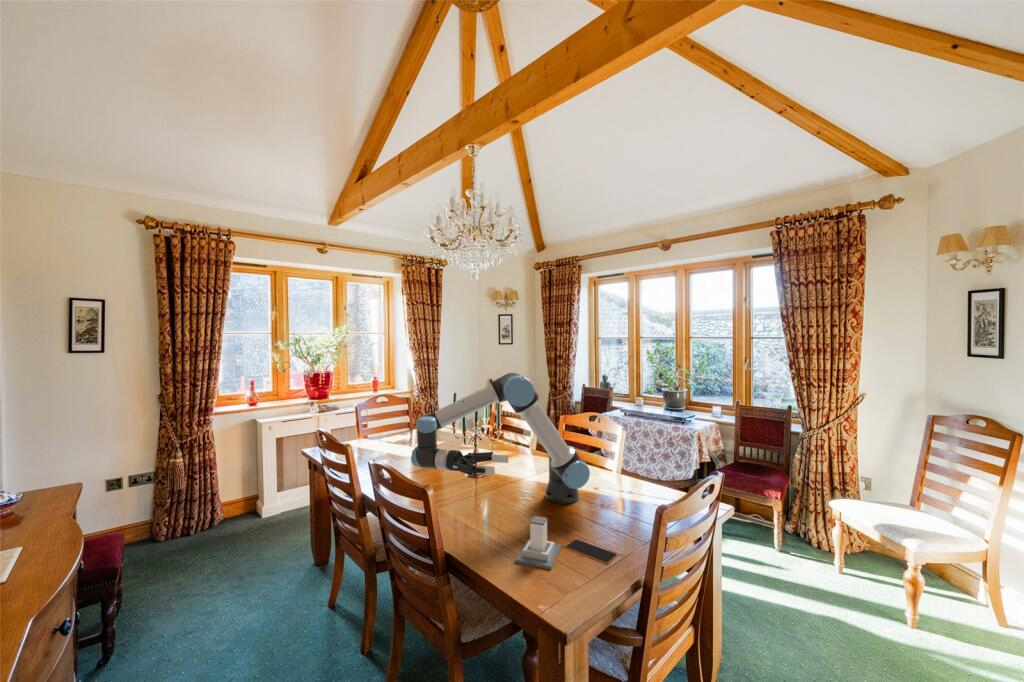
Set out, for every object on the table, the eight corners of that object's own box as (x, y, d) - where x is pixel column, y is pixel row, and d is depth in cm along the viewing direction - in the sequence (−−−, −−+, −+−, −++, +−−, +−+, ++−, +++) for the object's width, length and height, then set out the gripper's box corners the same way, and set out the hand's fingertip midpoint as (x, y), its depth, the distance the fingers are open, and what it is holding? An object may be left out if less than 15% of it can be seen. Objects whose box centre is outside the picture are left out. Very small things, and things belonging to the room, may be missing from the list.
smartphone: (575, 540, 150) (575, 538, 150) (618, 556, 140) (618, 554, 140) (563, 549, 145) (563, 546, 145) (607, 566, 134) (607, 563, 134)
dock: (528, 542, 149) (528, 533, 149) (561, 547, 145) (561, 539, 144) (515, 562, 136) (515, 553, 136) (550, 569, 131) (550, 560, 131)
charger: (534, 547, 143) (534, 515, 143) (547, 550, 141) (547, 517, 141) (530, 554, 139) (530, 521, 138) (543, 556, 137) (543, 523, 137)
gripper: (464, 459, 171) (513, 464, 164) (433, 481, 148) (488, 487, 140) (463, 441, 171) (512, 445, 164) (432, 460, 147) (487, 465, 140)
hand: (501, 464), depth 152 cm, fingers open, 13 cm apart
